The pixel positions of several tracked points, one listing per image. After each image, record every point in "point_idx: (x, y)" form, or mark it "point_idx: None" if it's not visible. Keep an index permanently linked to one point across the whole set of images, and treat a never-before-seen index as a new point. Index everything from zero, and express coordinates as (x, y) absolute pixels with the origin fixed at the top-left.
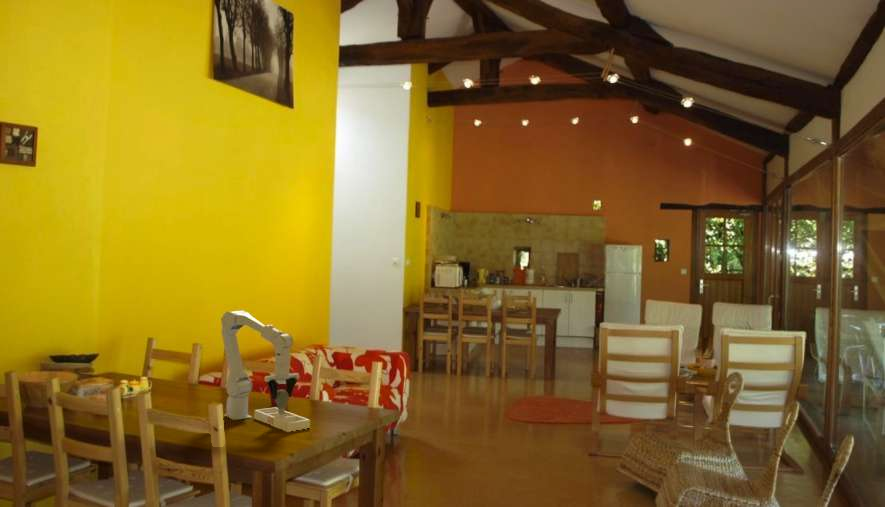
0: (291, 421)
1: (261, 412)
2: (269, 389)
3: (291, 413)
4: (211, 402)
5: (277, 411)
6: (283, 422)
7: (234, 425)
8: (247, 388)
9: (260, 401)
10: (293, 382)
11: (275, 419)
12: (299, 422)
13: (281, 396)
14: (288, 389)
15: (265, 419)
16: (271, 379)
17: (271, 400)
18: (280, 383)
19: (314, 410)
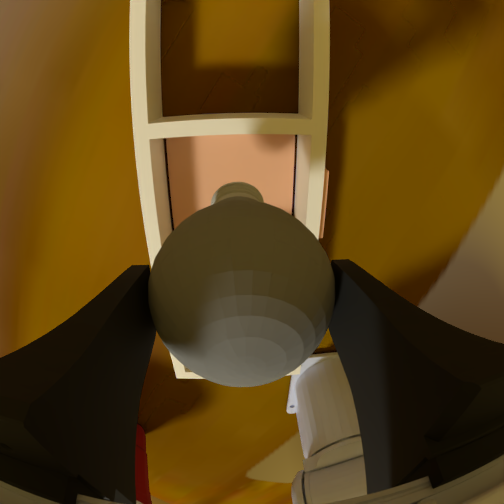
0: (197, 116)
1: None
2: (148, 484)
3: (148, 210)
4: (277, 483)
5: None
6: (326, 25)
7: (427, 280)
8: (335, 482)
9: (159, 464)
10: (19, 382)
11: (323, 139)
12: None
13: (294, 235)
14: (129, 355)
15: None
16: (486, 475)
17: (144, 448)
18: None
19: (10, 327)
